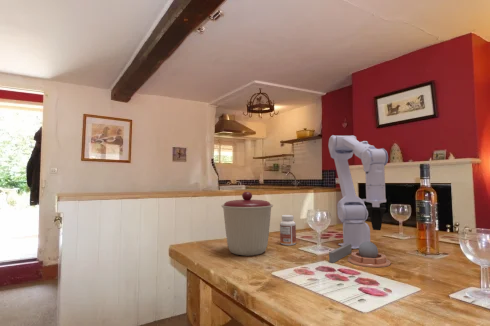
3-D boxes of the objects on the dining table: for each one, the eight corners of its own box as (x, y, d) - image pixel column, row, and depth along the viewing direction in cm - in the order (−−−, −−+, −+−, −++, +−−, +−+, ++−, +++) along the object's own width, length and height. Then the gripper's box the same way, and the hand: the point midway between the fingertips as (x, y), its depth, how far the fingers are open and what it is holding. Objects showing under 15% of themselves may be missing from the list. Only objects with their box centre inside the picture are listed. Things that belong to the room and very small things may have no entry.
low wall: (348, 252, 101) (347, 243, 101) (351, 252, 100) (351, 243, 100) (329, 262, 88) (329, 252, 88) (333, 263, 88) (332, 252, 88)
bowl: (368, 255, 97) (367, 248, 97) (399, 264, 86) (399, 257, 86) (339, 259, 92) (339, 252, 92) (369, 269, 81) (368, 262, 81)
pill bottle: (291, 241, 119) (290, 214, 119) (299, 244, 113) (298, 216, 114) (277, 243, 117) (277, 215, 117) (284, 246, 111) (284, 216, 111)
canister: (226, 261, 91) (225, 193, 92) (218, 248, 108) (218, 191, 110) (281, 257, 95) (280, 192, 96) (264, 245, 112) (264, 190, 114)
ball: (368, 257, 92) (367, 239, 93) (382, 261, 87) (382, 242, 88) (354, 258, 90) (354, 240, 91) (368, 263, 85) (368, 243, 86)
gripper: (363, 185, 103) (364, 224, 102) (360, 186, 89) (362, 230, 89) (385, 185, 100) (386, 225, 99) (386, 186, 87) (388, 232, 86)
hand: (376, 228), depth 94 cm, fingers open, 7 cm apart
